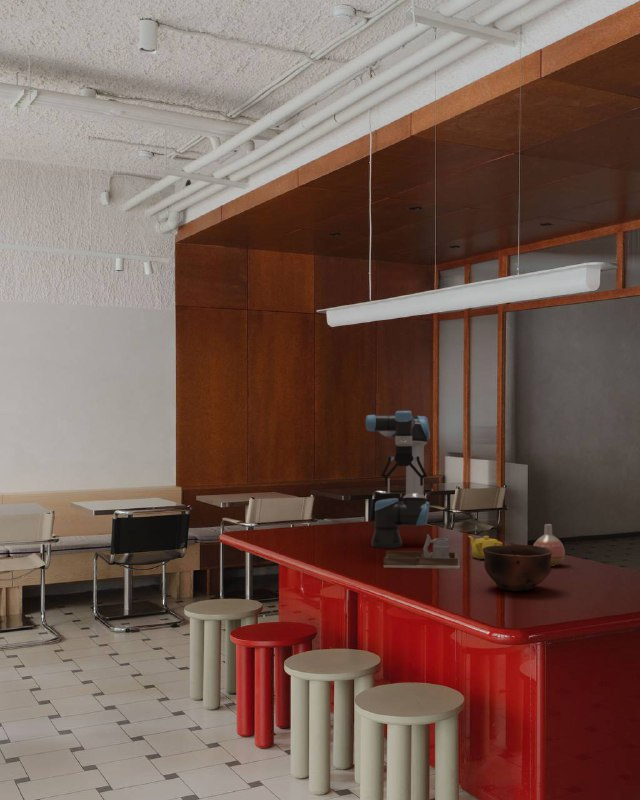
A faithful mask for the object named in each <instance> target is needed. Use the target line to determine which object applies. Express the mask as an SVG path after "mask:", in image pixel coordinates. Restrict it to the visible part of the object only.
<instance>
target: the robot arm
mask: <svg viewBox="0 0 640 800" xmlns="http://www.w3.org/2000/svg"><path fill="white" fill-rule="evenodd" d="M429 425H430V423H429V419H428V417H427V416H424V415H413V412H412V411H411V410H397V411H396V412H395V414H368V415H366V417H365V429H366V431H368V432H378V433H379V434H380V435H382V436H384V437H386V438H389V439H392V440H393V439H394V441H395V445H396V446H395V447H394V448H395V451H394V452H395V453H394V454H395V456H391V455H389V456H388V459H387V462H386V464H385V467H384V469H383V471H382V472H381V476H380V477H381V478H384V485H385V486H387V494H390V492H391V491H390V487H391V485H390V484H391V483H390V480H391V479H390V475H392V473H393V472H395V470H396V468H398V467H406V469H405V470H406V471H405V473H406V475H405V494H404V495H403V497H402V501H401V500H400V501H399V498H397V497H396V498H395V497H393V498H385V499H379V500H377V501H376V502H375V503H374V532H373V535H372V539H371V542H370V543H371V544H370V545H371V547H372V548H377V549H395V548H396V549H397V548H402V547H403V541H402V538H401V535H400V531H399V526H415V527H418V526H425V525H426V524H427V523H428V520H429V515H430V514H429V513H430V502H429V501H427V499H428V498H427V497H426V495H424V485H425V484H424V483H425V481H424V479H425V478H427V477H428V475H427V473H426V470H425V469H424V468H425V466H424V465H425V453H424V452H425V446H426V445H427V444H428V440H430V439H431V432H430V426H429ZM393 461H395V462H396V463H395V464H394V465H393V467H392V468H391V469H390V470H389V471H388V472H387V470H388V468H389V466H390V464H391V462H393ZM386 473H387V474H386Z"/></svg>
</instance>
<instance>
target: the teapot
mask: <svg viewBox="0 0 640 800" xmlns="http://www.w3.org/2000/svg"><path fill="white" fill-rule="evenodd" d="M482 536H483V537H481V538H480V537H479V538H475V539H474V537H473V536H471V535H467V537H468V538H469V539H470V546H471V547H470V548H471V554H472V557H473V558H475V559H476V560H482V559H483V560H485V557H484V552H483V548H485V547H489V546H502V545H503V542H501V541H499V540H498V539H495V538H489V537H490V536H489V535H482Z"/></svg>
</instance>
